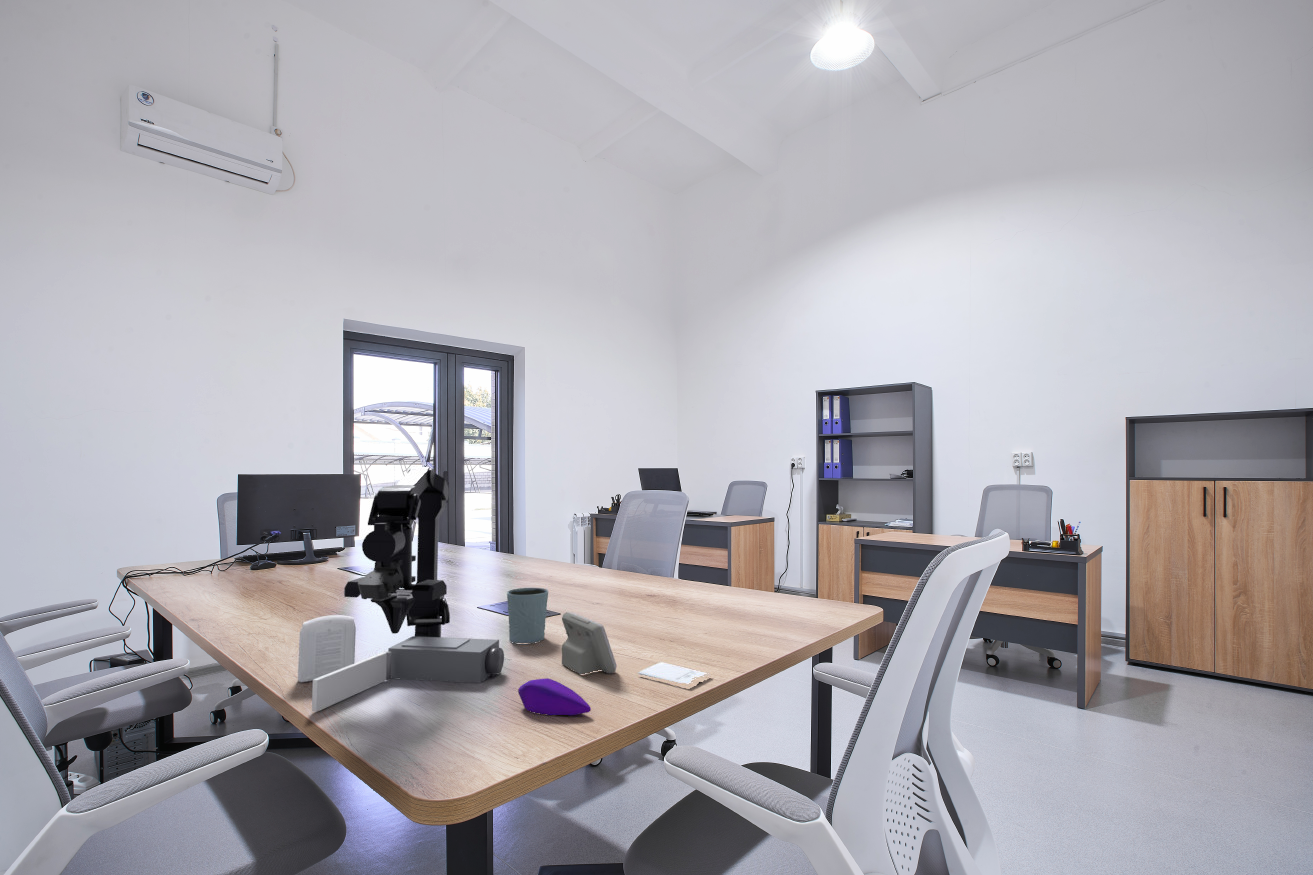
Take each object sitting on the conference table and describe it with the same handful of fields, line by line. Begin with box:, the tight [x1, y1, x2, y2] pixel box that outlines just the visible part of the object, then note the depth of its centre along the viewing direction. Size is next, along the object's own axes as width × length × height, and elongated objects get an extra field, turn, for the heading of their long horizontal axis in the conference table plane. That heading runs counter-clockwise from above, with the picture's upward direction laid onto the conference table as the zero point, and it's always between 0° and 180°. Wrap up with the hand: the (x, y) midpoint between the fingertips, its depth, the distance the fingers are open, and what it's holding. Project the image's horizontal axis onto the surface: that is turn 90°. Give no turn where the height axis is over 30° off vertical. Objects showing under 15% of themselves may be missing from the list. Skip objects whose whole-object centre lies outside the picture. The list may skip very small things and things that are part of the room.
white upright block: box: [297, 614, 357, 683], centre depth 124 cm, size 10×4×12 cm, turn 123°
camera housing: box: [387, 635, 505, 684], centre depth 125 cm, size 9×22×6 cm, turn 81°
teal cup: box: [506, 587, 549, 644], centre depth 150 cm, size 10×10×12 cm
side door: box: [311, 651, 392, 713], centre depth 113 cm, size 2×18×5 cm, turn 162°
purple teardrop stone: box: [517, 677, 592, 716], centre depth 105 cm, size 5×5×15 cm
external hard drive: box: [637, 661, 710, 684], centre depth 122 cm, size 2×8×12 cm
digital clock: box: [561, 611, 618, 675], centre depth 129 cm, size 16×9×11 cm, turn 24°
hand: (395, 632), depth 116 cm, fingers closed
